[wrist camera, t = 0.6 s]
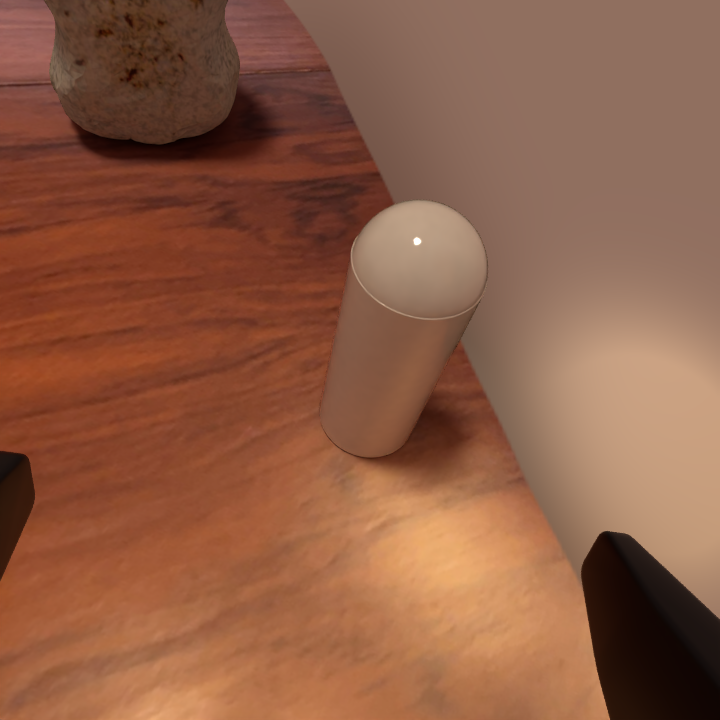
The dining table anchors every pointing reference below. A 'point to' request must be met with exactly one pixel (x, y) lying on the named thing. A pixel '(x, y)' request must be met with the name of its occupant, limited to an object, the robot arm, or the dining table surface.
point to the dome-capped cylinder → (399, 322)
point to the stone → (144, 67)
